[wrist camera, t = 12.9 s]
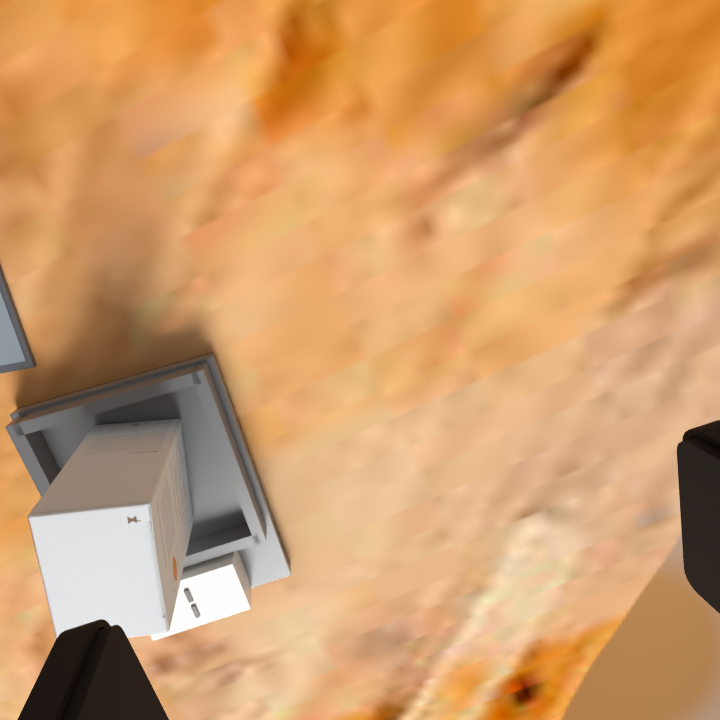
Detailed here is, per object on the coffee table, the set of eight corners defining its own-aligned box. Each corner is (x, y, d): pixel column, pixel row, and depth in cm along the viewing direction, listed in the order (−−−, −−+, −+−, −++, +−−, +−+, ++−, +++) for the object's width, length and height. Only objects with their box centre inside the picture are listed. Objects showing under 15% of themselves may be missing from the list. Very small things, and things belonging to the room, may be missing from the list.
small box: (93, 422, 34) (22, 512, 24) (183, 415, 35) (150, 500, 25) (112, 529, 37) (53, 651, 27) (195, 520, 38) (169, 636, 28)
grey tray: (17, 408, 34) (-11, 431, 31) (213, 352, 35) (207, 368, 32) (123, 620, 40) (110, 658, 37) (290, 566, 41) (292, 599, 38)
